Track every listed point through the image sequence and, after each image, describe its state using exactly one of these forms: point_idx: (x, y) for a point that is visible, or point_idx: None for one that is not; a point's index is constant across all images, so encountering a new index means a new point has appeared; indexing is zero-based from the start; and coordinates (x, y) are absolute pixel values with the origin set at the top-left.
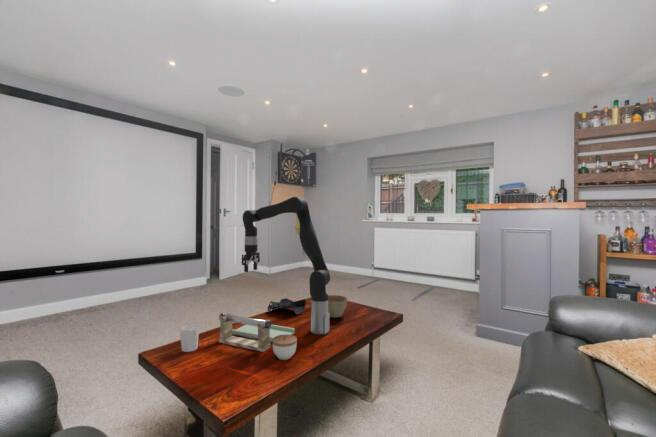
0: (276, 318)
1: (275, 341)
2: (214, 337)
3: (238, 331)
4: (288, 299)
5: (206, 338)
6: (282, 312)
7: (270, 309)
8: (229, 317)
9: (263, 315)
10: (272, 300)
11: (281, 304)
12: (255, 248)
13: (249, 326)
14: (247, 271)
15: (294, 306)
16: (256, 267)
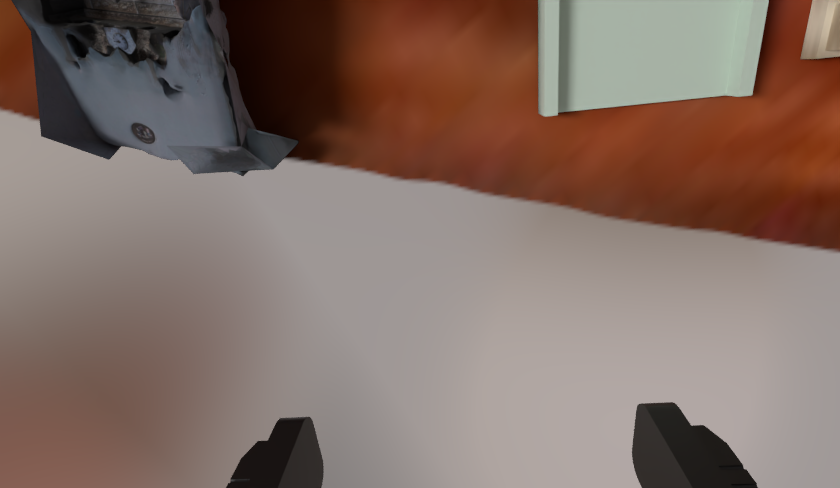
0: (335, 13)
1: None
2: (810, 140)
3: (765, 14)
4: (41, 104)
5: (835, 171)
6: None
7: (272, 135)
8: None
9: (340, 150)
10: (205, 159)
11: (220, 16)
12: None
13: (593, 56)
14: (677, 410)
15: None
16: (284, 460)
